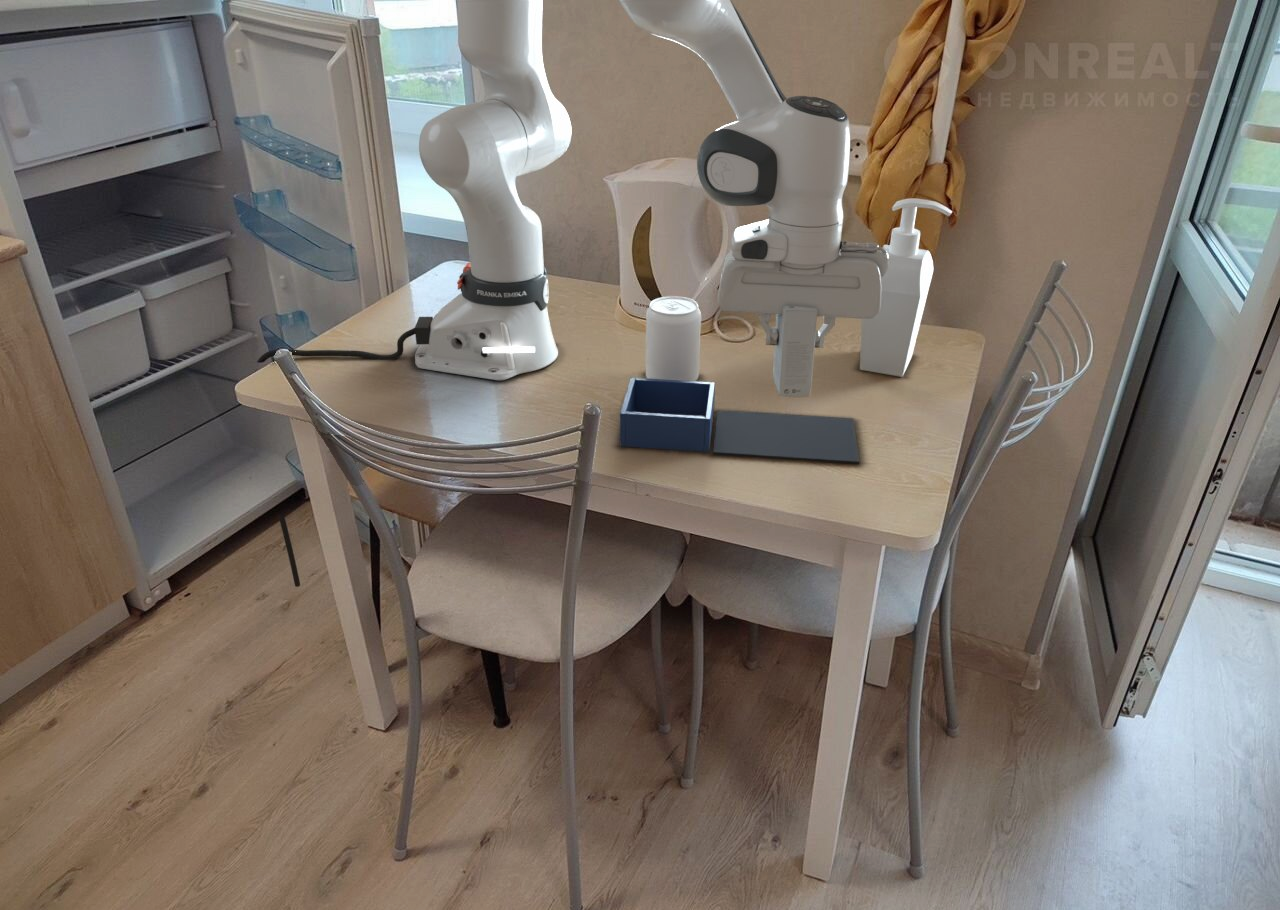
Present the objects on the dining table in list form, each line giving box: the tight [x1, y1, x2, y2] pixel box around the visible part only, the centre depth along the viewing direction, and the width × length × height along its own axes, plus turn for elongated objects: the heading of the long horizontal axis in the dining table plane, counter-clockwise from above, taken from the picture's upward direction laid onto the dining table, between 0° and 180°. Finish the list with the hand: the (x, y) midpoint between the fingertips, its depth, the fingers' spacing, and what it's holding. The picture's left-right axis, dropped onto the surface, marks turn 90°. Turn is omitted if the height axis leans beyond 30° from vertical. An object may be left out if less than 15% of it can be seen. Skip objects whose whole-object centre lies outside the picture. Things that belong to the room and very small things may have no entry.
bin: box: [619, 377, 716, 453], centre depth 128 cm, size 12×11×5 cm
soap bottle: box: [859, 197, 953, 378], centre depth 142 cm, size 12×10×26 cm
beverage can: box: [645, 295, 702, 381], centre depth 140 cm, size 8×8×12 cm
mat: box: [712, 409, 860, 465], centre depth 128 cm, size 19×12×1 cm, turn 83°
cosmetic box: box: [772, 306, 818, 398], centre depth 121 cm, size 6×4×12 cm
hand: (793, 344), depth 121 cm, fingers closed on cosmetic box, 4 cm apart
